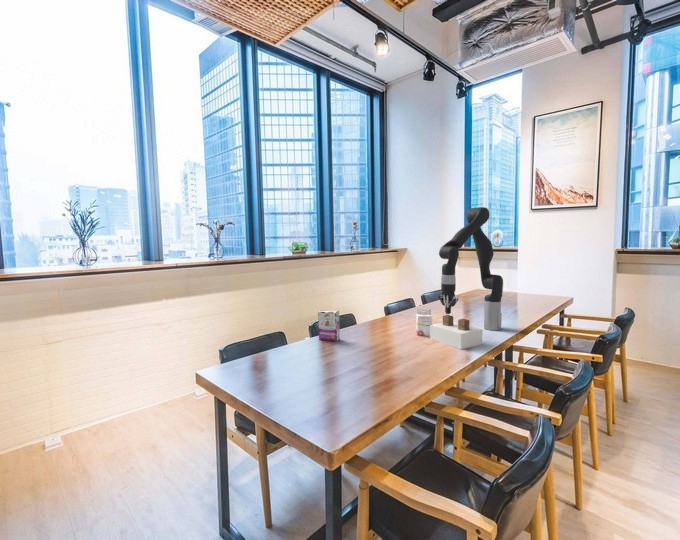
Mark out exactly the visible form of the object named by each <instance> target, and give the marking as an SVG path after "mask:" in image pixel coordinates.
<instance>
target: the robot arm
mask: <svg viewBox="0 0 680 540" xmlns="http://www.w3.org/2000/svg"><path fill="white" fill-rule="evenodd" d="M466 218H467V223H468V224H466V225H465V226H463V227H461V228H460V229H459V230H458V231H457V232H456V233H455V234H454V235H453V236H452V237H451V239H449V240H448V241H447V242H446V243H444V244H443V245H442V246H441V247H440V248H439V251H438V255H439V257H440V258H441V259H442V260H447V262H446V263H443V264H442V265H441V276H440V277H441V280H440V281H441V283H440V284H441V285H440V290H441V294H440V295H438V299H439V301H440V303H441V304H442V306H444V308H445V309H444V311H445V312H444V313H445V315H451V313H452V307H455V305H456V304H457V303H458V301H459V297H456V293H455V292H456V284H457V282H456V266H457V262H458V258H459V256H460V254H459V253H460V252H459V249H461V248H462V247H463V246H464V245H465V243H466V242H467V241H468V240H469V239H470V237H472V239H473V243H474V247H475V252H476V256H477V261H478V265H479V266H478V267H479V270H480V281H481V284H482V287H483V289H486V290H491V292H490V294H486V295H484V308H483V309H484V311H483V312H484V314H483V316H484V317H483V329H484V330H489V331H499V330H501V329H502V318H503V317H502V315H503V314H502V311H501V310H502V297H503V292H504V291H503V290H504V279H503V277H502V276H501V275H499V274H492V273H491V268H490V265H491V263H492V260H493V257H494V249H493V244H492V242H491V240H490V238H489V237H488V236H487V235H486V234H485V233H484V231H483V230H482V228H481V227H482V226H483V225H485V224H486V223H487V222H488V220H490V210H489V209H488V208H487V207H485V206H482V207H471V208H469V209H468V210H467V213H466Z"/></svg>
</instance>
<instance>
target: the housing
mask: <svg viewBox="0 0 680 540" xmlns="http://www.w3.org/2000/svg"><path fill="white" fill-rule="evenodd" d="M483 330H484V328H480V327H475V326H473V325H469V330H466V331H463V330H459V329H458V321H457V322H456V321H453V325H452V326H445V325H443V321H442V322H438V323H432V325H430V336H429V339H431V340H433V341H435V342H438V343H441V344H445V345H447V346H450V347H453V348H456V349H459V350H464V349H468V348H472V347H477V346H480V345H483V335H484V334H483V332H484V331H483Z"/></svg>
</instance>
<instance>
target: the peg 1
mask: <svg viewBox="0 0 680 540" xmlns="http://www.w3.org/2000/svg"><path fill="white" fill-rule="evenodd" d="M442 322H443V325H445V326H452V325H453V322H454V315H451V314H445V315H442Z"/></svg>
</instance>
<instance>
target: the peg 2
mask: <svg viewBox="0 0 680 540" xmlns="http://www.w3.org/2000/svg"><path fill="white" fill-rule="evenodd" d="M457 323H458V329H459V330H463V331H466V330H469V326H470V319H466V318H461V319H458V320H457Z"/></svg>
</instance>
